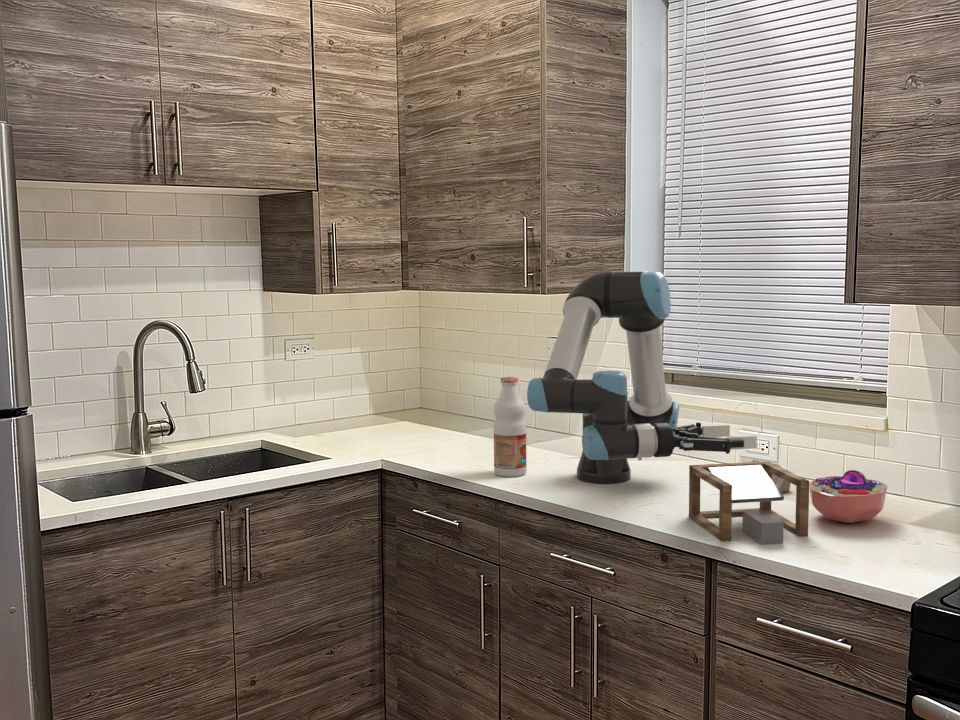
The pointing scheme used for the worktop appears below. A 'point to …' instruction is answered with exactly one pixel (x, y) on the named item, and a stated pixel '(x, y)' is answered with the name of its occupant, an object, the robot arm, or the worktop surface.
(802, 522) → the stand
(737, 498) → the trapdoor flap
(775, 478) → the concrete fragment
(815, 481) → the cell model
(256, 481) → the worktop surface
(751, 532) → the basalt block
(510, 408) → the fruit juice
